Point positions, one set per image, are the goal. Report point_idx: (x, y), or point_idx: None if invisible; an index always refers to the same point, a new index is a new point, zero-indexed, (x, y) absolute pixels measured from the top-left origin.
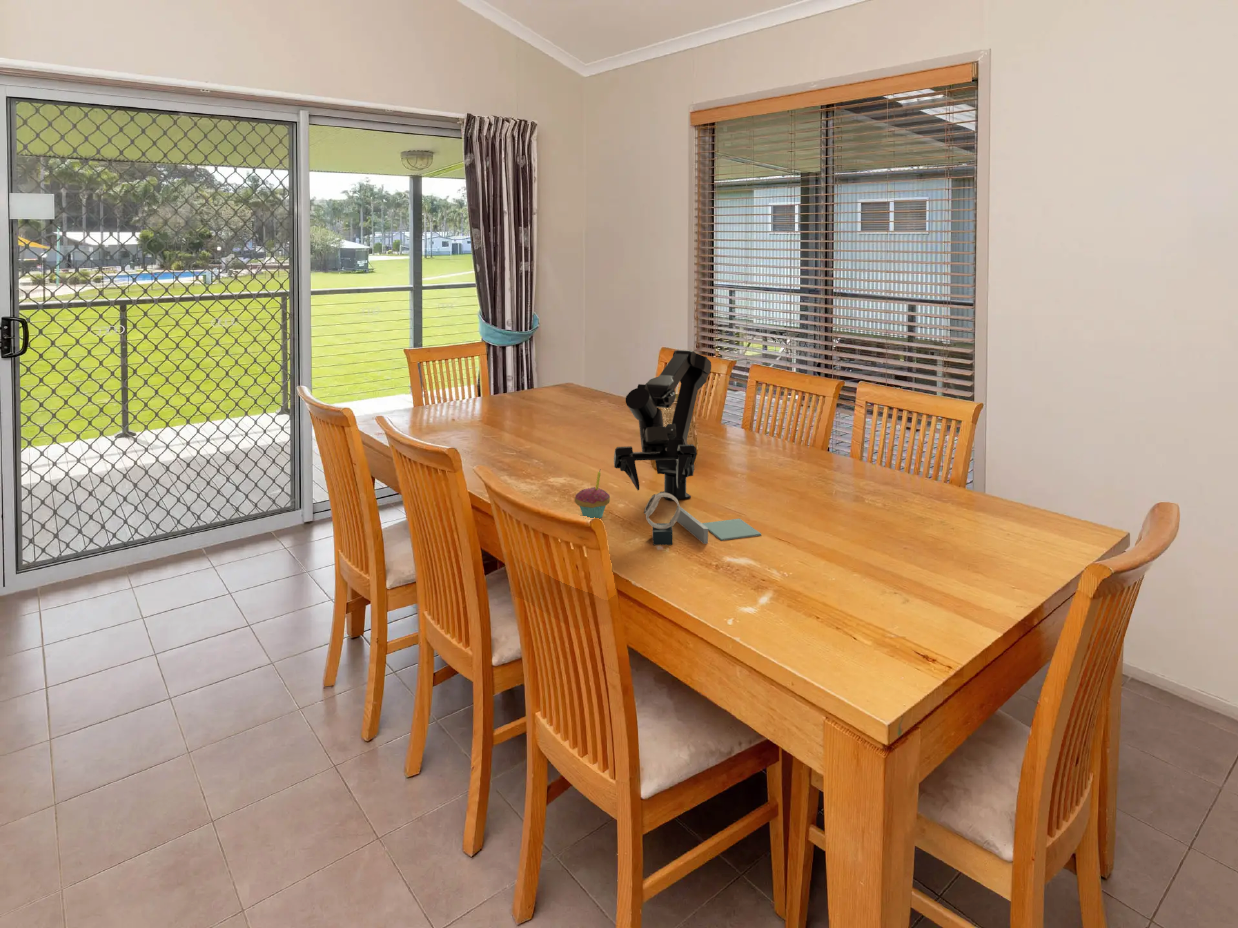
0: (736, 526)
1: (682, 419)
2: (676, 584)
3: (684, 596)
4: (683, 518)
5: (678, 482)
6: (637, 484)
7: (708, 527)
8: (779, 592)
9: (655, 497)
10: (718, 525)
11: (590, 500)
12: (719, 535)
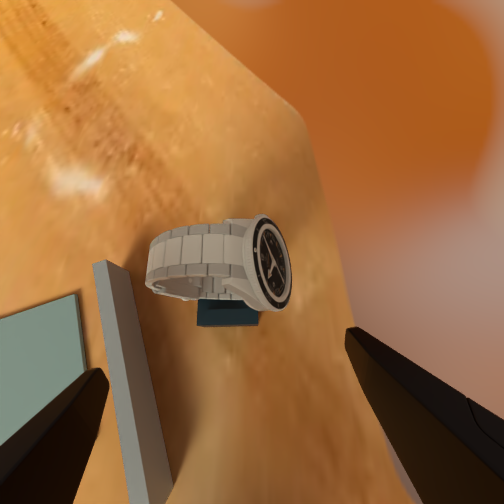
0: None
1: None
2: (216, 94)
3: (207, 63)
4: (147, 427)
5: (76, 390)
6: (370, 339)
7: None
8: (60, 75)
9: (248, 231)
10: None
11: None
12: (70, 321)
